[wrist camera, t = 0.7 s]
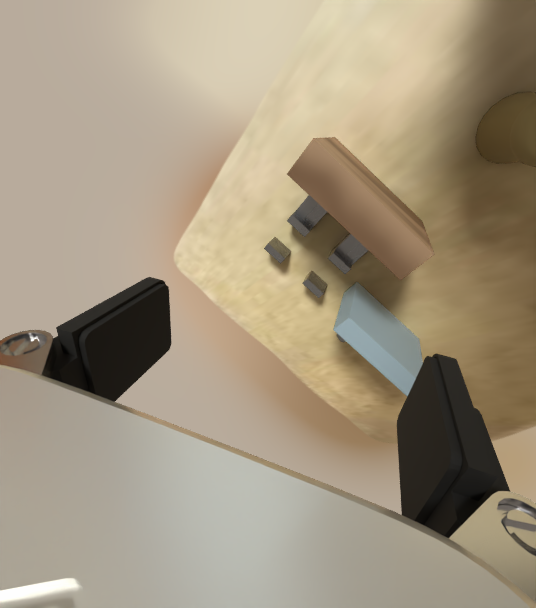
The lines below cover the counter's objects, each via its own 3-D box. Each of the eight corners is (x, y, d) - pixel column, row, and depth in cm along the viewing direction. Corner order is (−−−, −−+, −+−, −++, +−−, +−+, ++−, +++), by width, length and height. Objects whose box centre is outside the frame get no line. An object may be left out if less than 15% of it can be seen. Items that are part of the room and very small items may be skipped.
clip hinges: (326, 174, 37) (322, 177, 34) (386, 231, 38) (385, 238, 35) (271, 241, 43) (263, 248, 41) (322, 288, 44) (318, 298, 42)
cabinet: (335, 137, 35) (313, 138, 25) (422, 221, 36) (434, 254, 26) (314, 163, 37) (286, 174, 27) (397, 242, 38) (400, 280, 28)
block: (357, 281, 42) (349, 317, 34) (419, 338, 43) (426, 387, 35) (338, 297, 44) (326, 335, 36) (397, 352, 45) (399, 401, 37)
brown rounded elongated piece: (558, 82, 27) (643, 57, 18) (546, 156, 30) (616, 166, 21) (478, 102, 30) (517, 88, 20) (473, 169, 32) (506, 182, 23)
